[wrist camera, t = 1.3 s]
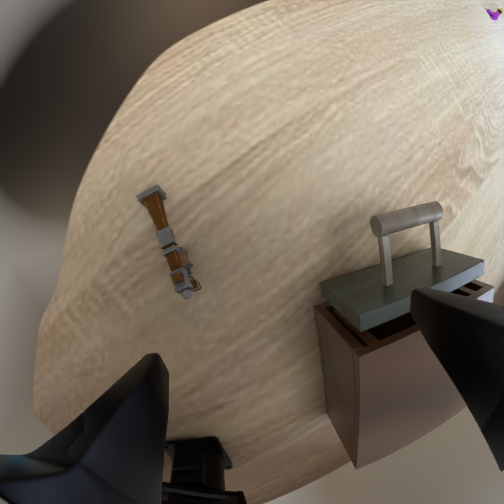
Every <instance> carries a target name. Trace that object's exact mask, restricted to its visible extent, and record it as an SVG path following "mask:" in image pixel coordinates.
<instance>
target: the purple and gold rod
mask: <svg viewBox="0 0 504 504" xmlns="http://www.w3.org/2000/svg"><path fill="white" fill-rule="evenodd" d="M502 11H503V10H502V9H501V8H500V9H498V11H497V12H496V13H492V12H491V11H490V10H489V9H488V10H487V12H488V13H489V14H490V15H491V17H492V18H493V19H494V20H497V19H498V17H499V15H500V14H501V13H502Z"/></svg>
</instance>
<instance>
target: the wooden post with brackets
mask: <svg viewBox="0 0 504 504" xmlns="http://www.w3.org/2000/svg"><path fill="white" fill-rule="evenodd" d="M136 197H137V199H138V201H139V202H140V203H141V204H143V205H144V206H145V207H146V208H147V209H148V211H149V213H150V215H151V217H152V219H153V221H154V224H155V226H156V229H157V232H156V235H157V236H158V240H159V243H160V248H161V249H163V251H161V252H162V253H163V256H165V257H166V258H167V261H168V264H169V267H170V270H171V273H169V274H170V276H171V279H172V281H173V284H174V287H175V292H177V293H180V294H181V296H182V297H183V298H184V299H189V298H191V296H192V292H196V291H198V290H200V289H202V288H201V285H200V283H199V282H198V281H197V280H196V279H194V278H193V277H192V276H190V275H191V274H192V272H191V271H190V268H191V267H192V266H193V264H192V263H190V262H189V259H188V255H187V254H188V253H187V252H186V251H185V250H183V248H182V247H177V245H178V244H177V242H176V240H175V238H174V235H173V230H172V229H170V228H169V225H168V222H167V218H166V214H165V210H164V206H163V200H165V199H166V193H165V192H164V191H163V190H162V189H161V188H160V186H159V185H158V184H157V185H155V186H153V187H151V188H149V189H147V190H145V191H144V192H142V193H140V194H138V195H136ZM191 278H192V279H191Z"/></svg>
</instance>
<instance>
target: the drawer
mask: <svg viewBox="0 0 504 504" xmlns="http://www.w3.org/2000/svg"><path fill="white" fill-rule="evenodd" d="M442 215H443V209H442V206H441V205H440V203H438V202H436V201H434V202H430V203H425V204H421V205H417V206H412V207H408V208H404V209H399V210H395V211H391V212H386V213H382V214H378V215H374V216H372V217H371V221H370V224H371V229H372V231H373V233H374V235H375V236H377V237H378V243H379V251H380V261H381V265H378V266H374V267H371V268H368V269H365V270H362V271H358V272H355V273H352V274H349V275H345V276H342V277H339V278H335V279H332V280H329V281H325V282H322V283H320V287H321V293H322V297H323V298H324V299H325V300H326V301H328V302H329V303H330V304H331V305H332V306H333V307H334V308H335V310H334V311H333V312H334V317H335V318H336V319H337V320H338V321H339V322H340V323H341V324H342V325H343V326H344V327H345V328H346V329H347V330H348V331H349V332H350V333H351V334H352V335H353V336H354V337H355V338H356V339H357V340H358V341H359V342H360V343H361V344H362V345H363V346H364V347H365V346H368V345H370V344H373V343H375V342H378V341H380V340H382V339H385V338H387V337H389V336H392V335H394V334H396V333H398V332H401V331H403V330H405V329H407V328H409V327H411V326H413V325H416V322H415V321H414V319H413V317H412V315H411V313H410V301H411V292H412V290H413V289H415V288H417V287H420V286H424V287H428V288H432V289H436V290H440V291H445V292H449V293H453V294H457V295H461V296H466V297H468V296H470V295H471V294H473V293H475V292H476V291H474V290H471V289H469V288H466V287H464V286H463V285H465V284H467V283H469V282H471V281H472V280H474V279H476V278H478V277H479V276H481V275H483V274H484V260H482V259H479V258H475V257H471V256H468V255H464V254H460V253H456V252H452V251H449V250H445V249H441V247H440V232H439V221H437V220H440V219H441V218H442ZM426 223H429V226H430V237H431V248H428V249H425V250H422V251H419V252H416V253H414V254H411V255H408V256H405V257H402V258H399V259H396V260H393V261H392V260H391V249H390V240H389V235H387V234H390V233H394V232H398V231H401V230H405V229H408V228H412V227H415V226H419V225H422V224H426Z"/></svg>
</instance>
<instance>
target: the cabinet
mask: <svg viewBox="0 0 504 504" xmlns="http://www.w3.org/2000/svg"><path fill="white" fill-rule="evenodd" d="M463 286H464V287H466V288H469V289H471V290H474V291H476V292H475V293H473V294H471V295H470V296H468V297H470V298H474V299H478V300H482V301H486V302H491V303H493V294H494V286H491V285H489V284H486V283H483V282H480V281H477V280H475V279H474V280H472V281H471V282H469V283H467V284H465V285H463ZM334 310H335V308H334V307H333V306H332V305H331V304H330V303H329V302H326V303H323V304H319V305H316V306H314V313H315V320H316V327H317V333H318V340H319V348H320V355H321V363H322V370H323V379H324V387H325V396H326V406H327V414H328V416H329V418H330V420H331V422H332V424H333V426H334V428H335V430H336V432H337V434H338V436H339V438H340V440H341V441H342V443H343V445H344V447H345V449H346V451H347V453H348V455H349V457H350V459H351V461H352V463H353V465H354V467H355V468H356V469H359V468H361V467H364V466H366V465H368V464H370V463H373V462H375V461H377V460H379V459H382V458H384V457H386V456H388V455H390V454H392V453H394V452H396V451H398V450H399V449H401V448H403V447H405V446H407V445H408V444H410V443H412V442H414V441H416V440H417V439H419V438H421V437H422V436H424V435H426V434H427V433H429V432H430V431H432V430H434V429H435V428H437V427H438V426H440V425H441V424H442V423H444V422H446V421H447V420H449V419H450V418H451V417H453V416H454V415H455V414H457V413H458V412H460V411H461V410H462V409H463V408H465V407H466V406H467V405H466V403H465V401H464V400H463V398H462V396H461V395H460V393H459V391H458V390H457V388H456V387H455V385H454V383H453V382H452V380H451V379H450V377H449V376H448V374H447V372H446V371H445V369H444V368H443V366H442V365H441V363H440V362H439V360H438V359H437V357H436V356H435V354H434V353H433V352H432V350H431V349H430V347H429V345H428V344H427V342H426V340H425V339H424V337H423V335H422V333H421V331H420V329H419V328H418V326H417V324H416V325H413V326H411V327H409V328H407V329H405V330H403V331H401V332H398V333H396V334H394V335H392V336H389V337H387V338H385V339H382V340H380V341H378V342H375V343H373V344H370V345H368V346H365V347H364V346H363V345H362V344H361V343H360V342H359V341H358V340H357V339H356V338H355V337H354V336H353V335H352V334H351V333H350V332H349V331H348V330H347V329H346V328H345V327H344V326H343V325H342V324H341V323H340V322H339V321H338V320H337V319H336V318H335V317H334V312H333V311H334Z"/></svg>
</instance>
